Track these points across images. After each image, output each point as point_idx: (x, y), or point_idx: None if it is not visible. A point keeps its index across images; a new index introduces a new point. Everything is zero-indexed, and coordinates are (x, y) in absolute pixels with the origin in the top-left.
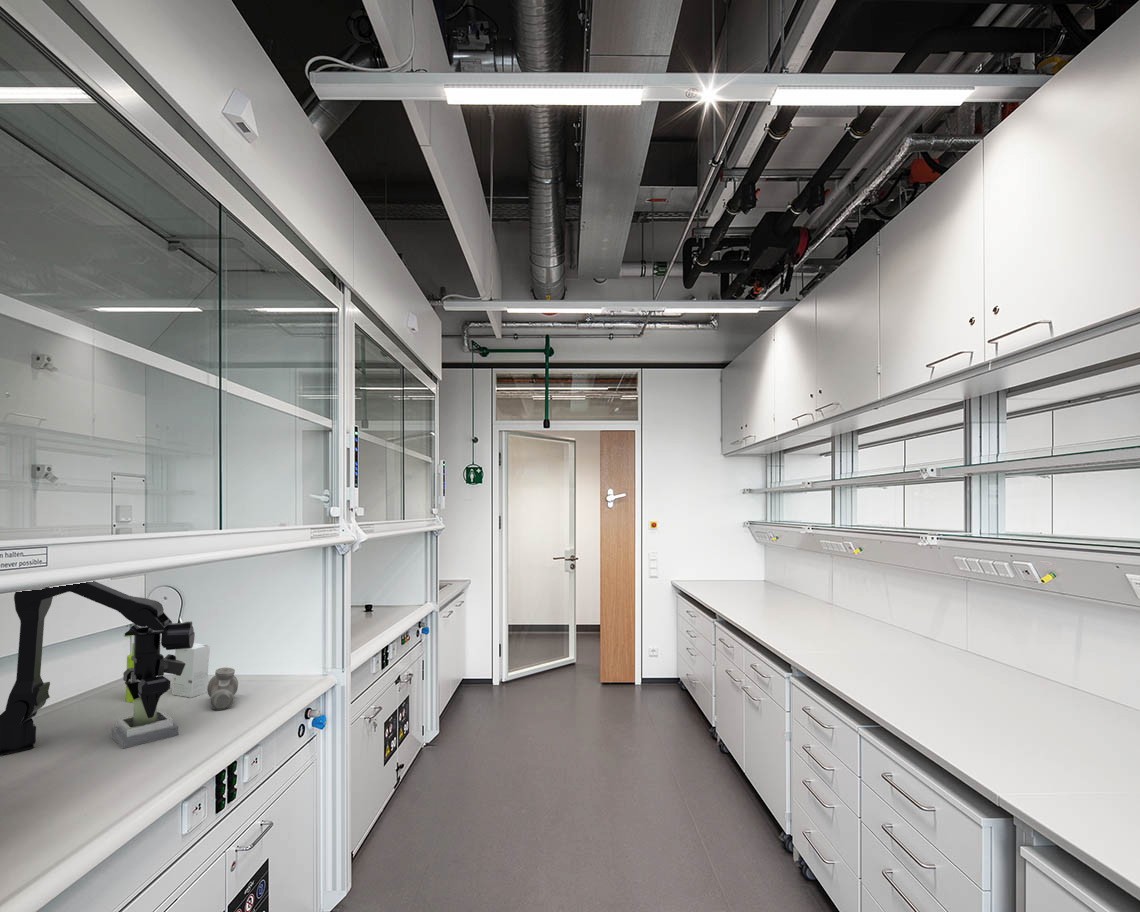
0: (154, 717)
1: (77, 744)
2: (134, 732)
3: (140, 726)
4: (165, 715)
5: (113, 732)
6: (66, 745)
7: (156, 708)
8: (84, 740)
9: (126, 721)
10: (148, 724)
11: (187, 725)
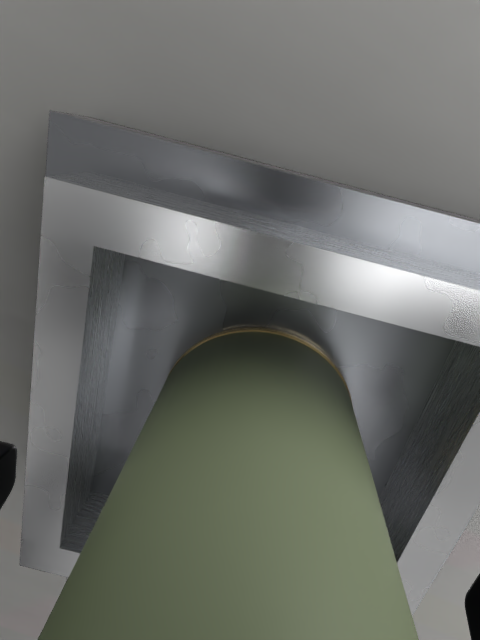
0: (360, 444)
1: (54, 605)
2: None
3: (427, 587)
4: (339, 287)
5: None
6: (24, 628)
7: (350, 486)
8: (12, 566)
9: (75, 504)
10: (450, 533)
11: (373, 4)
